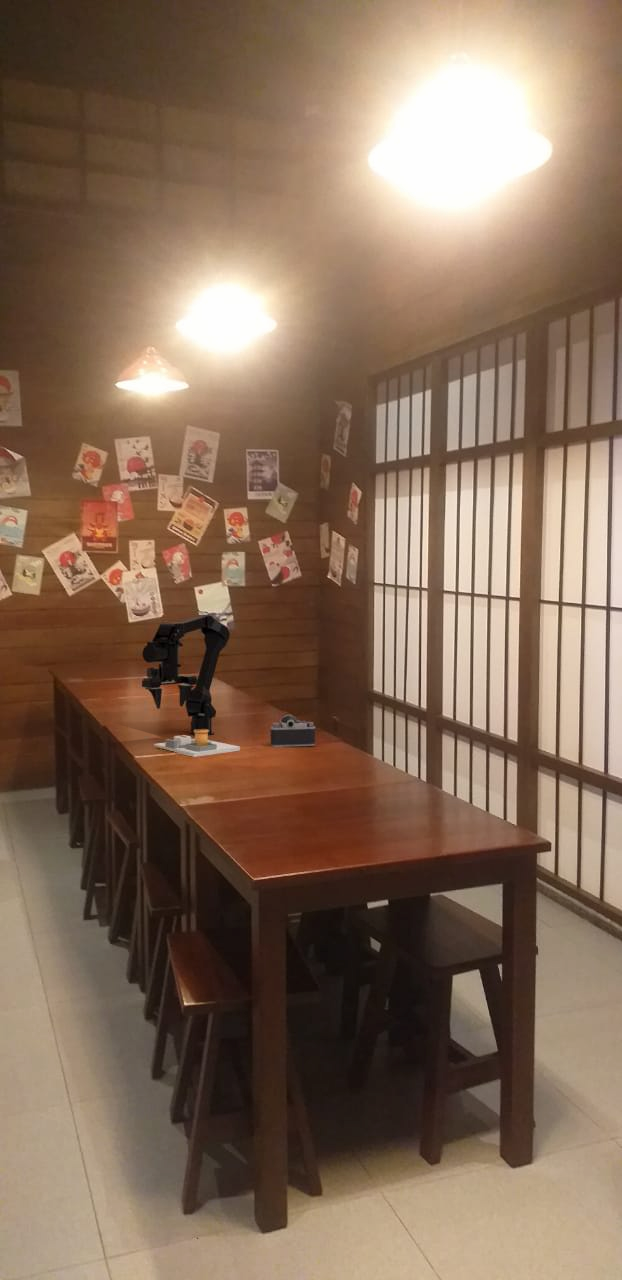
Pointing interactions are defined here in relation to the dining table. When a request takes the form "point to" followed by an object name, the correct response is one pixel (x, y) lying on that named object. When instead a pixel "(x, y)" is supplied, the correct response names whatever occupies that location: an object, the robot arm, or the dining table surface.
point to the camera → (292, 733)
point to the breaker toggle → (182, 739)
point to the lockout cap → (201, 737)
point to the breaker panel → (197, 748)
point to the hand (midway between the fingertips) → (169, 707)
